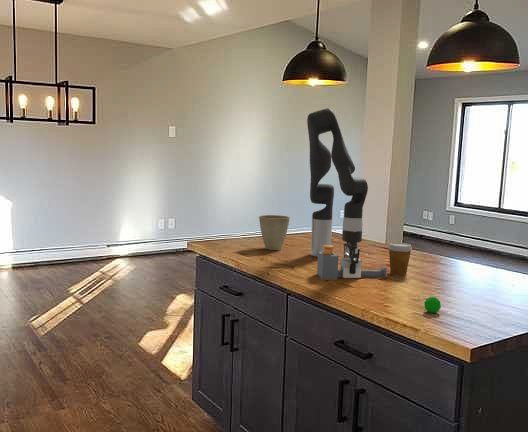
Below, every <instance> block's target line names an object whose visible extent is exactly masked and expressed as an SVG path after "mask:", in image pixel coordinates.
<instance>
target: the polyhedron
mask: <svg viewBox="0 0 528 432" xmlns="http://www.w3.org/2000/svg"><path fill="white" fill-rule="evenodd" d="M423 304H424V309H425V310H426V312H428V313H430V314H436V313H439V311H440V310H441V308H442V307H441V305H442V304H441V301H440V299H439V298H437V297H435V296H430V297H428V298H426V299H425V300H424V303H423Z"/></svg>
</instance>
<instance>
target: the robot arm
mask: <svg viewBox="0 0 528 432" xmlns="http://www.w3.org/2000/svg"><path fill="white" fill-rule="evenodd" d="M306 123H307V130H308V131H307V134H308V139H309V140H308V141H309V169H310V170H309V171H310V184H309V185H310V186H309V187H310V188H309V198H310V202H311V203H312V204H314V205H315V204H316V205H325V207H323V208H322V209H319V210H316V211H313V212H312V214H311V237H310V238H311V239H310V240H311V241H310V256H311V257H316V258H318V252H324V248H323V245H332V236H333V235H332V232H333V231H332V230H333V208H334V198H335V187H334V185H332V184H329V183H326V184H325V183H320V182H321V180H322V179H323V178H324V177H325V176H326V175H327V174H328V173H329V171H330V170H331V167H332V163H333V166H334V167H335V170H336V172H337V175H338V182H339V186H340V190H341V192H342V193H343V194H344V195H345V196H347V197H348V196H349V197H351V199H350V200H349V201H347V202H346V203H345V204H344V210H343V222H342V237H341V239H342V241H343V242H344V243H343V258H349V259H350V272H349V273H350V274H355V273H356V264H358V261H359V259H360V250H361V249H360V248H359V247H358V243H361V242H362V239H363V225H364V224H363V209H364V208H363V207H364V204H365V203H366V198H367V195H368V193H369V192H368V190H369V185H368V184H369V183H368V182H367V180H366V179H365V178H364V177H358V176H357V177H355V176H354V177H353V176H352V174H353V173H355V171H356V167H355V163H354V162H353V160H352V157H351V155H350V153H349V152H348V150H347V146H346V143H345V141H344V137H343V134H342V131H341V128H340V125H339V122H338V119H337V117H336V114H335V113H334V111H333V110H332V109H331V108H329V107H327V108H323V109H319V110H316V111H313V112H311V113H309V114H308V115H307V119H306ZM329 132H331V134H332V137H333V140H332V147H331V151H330V149H329V148H328V147H327V146H326V145H325V143H323V142H322V140H320V138H319V137H320V135H322V134H324V133H325V134H326V133H329ZM354 259H355V260H354Z"/></svg>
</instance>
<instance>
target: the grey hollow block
mask: <svg viewBox="0 0 528 432" xmlns="http://www.w3.org/2000/svg"><path fill="white" fill-rule="evenodd" d="M316 263H317V266H316V275H317V276H318V277H319V278H320V279H321V280H338V278H339V277H338V270H339V255H338V254H337V253H335V252H334V251H333V254H332V255H324V252H318V257H317V262H316Z"/></svg>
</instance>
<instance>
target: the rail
mask: <svg viewBox="0 0 528 432" xmlns="http://www.w3.org/2000/svg"><path fill="white" fill-rule="evenodd" d="M342 274H343V270H340V269H338V278H343V277H342ZM361 278H382V279H385V278H387V267H386V266H384V265H381V266H380V269H361Z"/></svg>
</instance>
